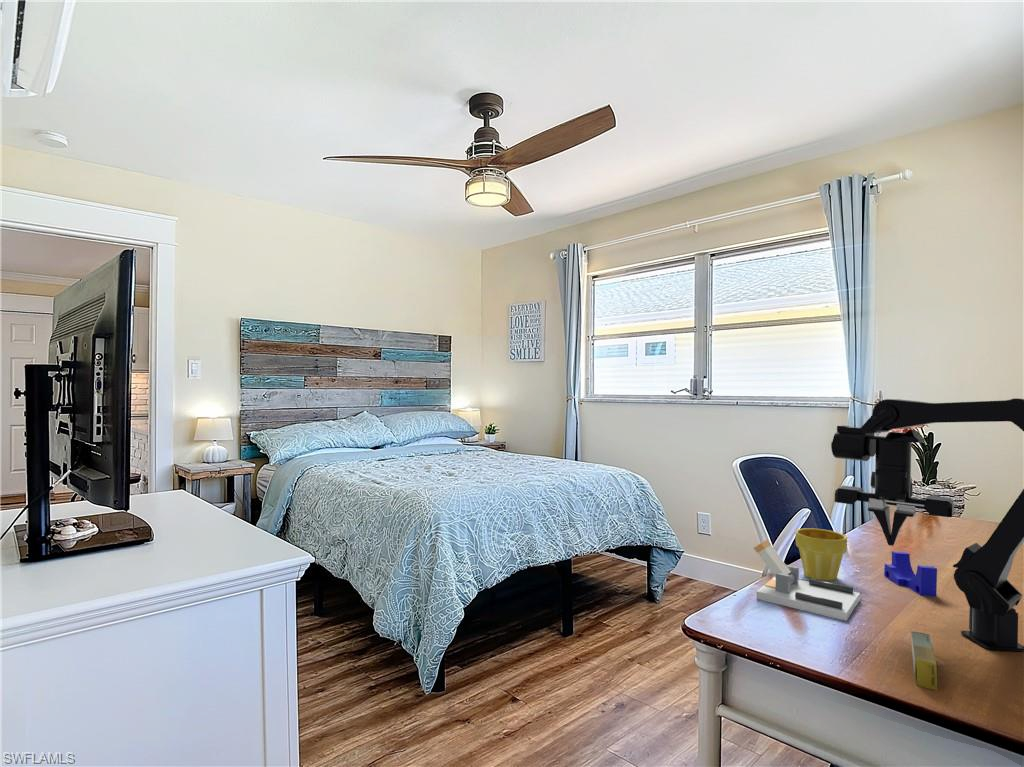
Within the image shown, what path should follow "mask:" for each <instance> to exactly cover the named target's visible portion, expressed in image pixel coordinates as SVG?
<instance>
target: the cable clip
mask: <svg viewBox="0 0 1024 767" xmlns="http://www.w3.org/2000/svg"><path fill="white" fill-rule="evenodd" d="M883 571H884V572H883V573H884V574H883V576H884V578H886V579H888V580H889V581H891V582H893V583H894V584H896V585H897V586H905V587H906V588H908V589H910V590H912V591H913V592H915V593H916V594H918V595H920V596H926V597H927V596H929V597H937V591H938V590H937V587H938V585H937V584H938V581H937V579H938V568H937V567H935V566H933V565H917V568H916V573H915V572H914V570H913V568H912V565H911V557H910V553H908V552H906V551H891V564H890V563H884V570H883Z"/></svg>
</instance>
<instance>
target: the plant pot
mask: <svg viewBox="0 0 1024 767" xmlns="http://www.w3.org/2000/svg"><path fill="white" fill-rule="evenodd" d="M795 546H796V547H797V548H798V550H799V555H800V560H801V566H802V569H803V575H805V576H806V577H808V578H809V579H815V580H820V581H824V582H832V581H835V580H837V578H838V575H839V572H840V567H841V564H842V560H843V558H844V557H843V556H844V555H845V553H847V550H848V548H847V547H848V537H847V536H846V535H845V534H844V533H841V532H838V531H835V530H834V531H833V530H830V529H829V530H828V529H823V528H822V529H821V528H814V527H813V528H810V527H806V528H798V529H796V531H795Z"/></svg>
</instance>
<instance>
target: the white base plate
mask: <svg viewBox="0 0 1024 767" xmlns="http://www.w3.org/2000/svg"><path fill="white" fill-rule="evenodd" d="M786 566H787V567H788V568H789V570H790V571H791V572H790V573H792V574H794V576H795V580H794V581H793V582H792V583H791V584H790V575H786V574H782V573H776V578H775V576H773V577H772V578H770V579H769V581H767V582H766V583H765V584H764V585H763V586H761V587H760V588H759V589H757V590H756V597H755V598H756V600H760V601H764V602H768V603H772V604H776V605H780V606H784V607H788V608H792V609H796V610H801V611H804V612H809V613H812V614H818V615H821V616H825V617H829V618H833V619H838V620H841V621H846V622H847V621H848V619H849V617H850V616H851V614H852V612H854V610H855V608H856V606H858V604H859V602H860V600H861V593H860V592H858V591H854V589H855V588H854V587H852V586H848V585H843V584H838V583H834V582H830V581H824V580H817V579H813V578H809V579H808V581H806V580H803V579H799V578H800V577H799V576H800V575H799V574H800V570H799V569H800V567H799V566H794V565H789V564H786Z"/></svg>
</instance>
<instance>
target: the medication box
mask: <svg viewBox="0 0 1024 767" xmlns="http://www.w3.org/2000/svg"><path fill="white" fill-rule="evenodd" d="M910 638H911V639H910V640H911V643H910V644H911V655H912V656H911V657H912V666H913V673H914V682H915V686H917V687H918V686H919V687H922V688H926V689H931V690H936V691H938V679H937V678H938V677H937V676H938V671H937V670H938V669H937V668H938V667H937V662H936V657H935V653H934V647H933V641H932V637H931V635H930V634H929V633H925V632H920V631H912V630H911V632H910Z"/></svg>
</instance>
